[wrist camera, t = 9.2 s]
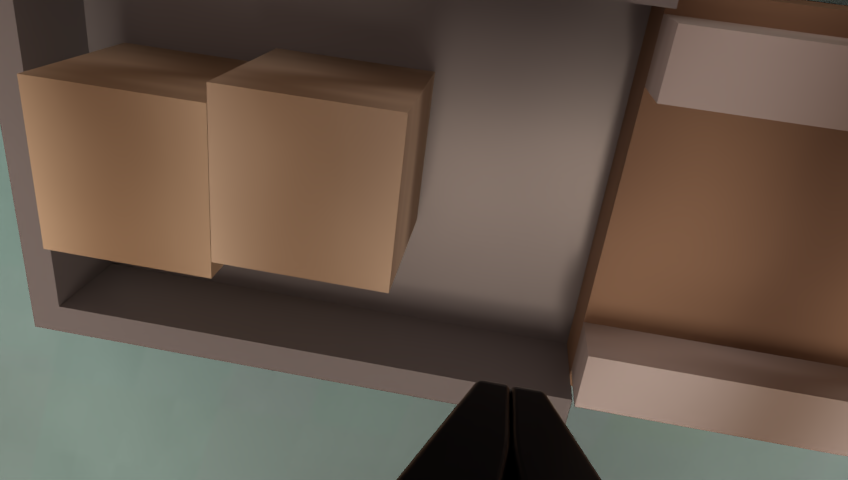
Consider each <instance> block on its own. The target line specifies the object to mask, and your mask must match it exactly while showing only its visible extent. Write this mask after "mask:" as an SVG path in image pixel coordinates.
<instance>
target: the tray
mask: <svg viewBox="0 0 848 480" xmlns="http://www.w3.org/2000/svg"><path fill="white" fill-rule="evenodd" d="M678 1H679V0H0V124H1V130H2V136H3V142H4V148H5V153H6V159H7V165H8V171H9V177H10V182H11V188H12V194H13V200H14V206H15V212H16V217H17V223H18V229H19V235H20V241H21V246H22V252H23V258H24V264H25V270H26V276H27V281H28V287H29V293H30V299H31V305H32V310H33V316H34V322H35V326H36V327H42V328H47V329H52V330H58V331H63V332H69V333H74V334H79V335H85V336H90V337H96V338H101V339H106V340H112V341H117V342H123V343H128V344H133V345H139V346H144V347H150V348H155V349H160V350H166V351H171V352H177V353H182V354H187V355H193V356H198V357H204V358H209V359H214V360H220V361H225V362H231V363H236V364H241V365H247V366H252V367H258V368H263V369H268V370H274V371H279V372H285V373H290V374H295V375H301V376H306V377H312V378H317V379H322V380H328V381H333V382H339V383H344V384H349V385H355V386H360V387H366V388H371V389H376V390H382V391H387V392H393V393H398V394H403V395H409V396H414V397H420V398H425V399H430V400H436V401H441V402H447V403H452V404H457V405H458V404H459V402H460V401H461V400H462V399H463V397H464V396H465V395H466V394H467V392H468V391H469V390H470V389H471V388H472V386H473V385H474V384H475V383H476V382H477V381H479V380H486V381H491V382H497V383H502V384H506V385H507V386H509V388H510V390H511V388H512V387H514V386H519V387H524V388H530V389H535V390H540V391H542V392H544V393H545V394H546V395H547V397H548V399H549V400H550V402H551V403H552V405H553V406H554V408H555V409H556V411H557V412H558V414H559V415H560V417H561V419H562V420H563V422H564V423H565V424H566V420H567V417H568V413H569V409H570V405H571V402H572V395H571V384H570V374H569V362H568V351H567V341H568V337H569V333H570V329H571V325H572V321H573V318H574V314H575V310H576V306H577V302H578V298H579V294H580V290H581V286H582V282H583V278H584V274H585V270H586V266H587V262H588V258H589V254H590V250H591V246H592V242H593V238H594V234H595V230H596V226H597V222H598V218H599V214H600V210H601V206H602V202H603V198H604V194H605V190H606V186H607V182H608V178H609V174H610V170H611V166H612V162H613V158H614V154H615V150H616V146H617V142H618V138H619V134H620V130H621V126H622V122H623V118H624V114H625V110H626V106H627V102H628V98H629V94H630V90H631V86H632V82H633V78H634V74H635V70H636V66H637V62H638V58H639V54H640V50H641V46H642V42H643V38H644V34H645V30H646V26H647V23H648V19H649V15H650V11H651V7H652V6H658V7H665V8H673V9H676V8H677V4H678ZM122 43H131V44H137V45H144V46H151V47H157V48H164V49H171V50H177V51H184V52H191V53H197V54H204V55H210V56H217V57H224V58H230V59H237V60H244V61H251V60H253V59H255V58H257V57H259V56H261V55H263V54H266V53H268V52H270V51H272V50H274V49H276V48H278V49H285V50H292V51H299V52H305V53H312V54H319V55H325V56H332V57H339V58H346V59H352V60H359V61H366V62H373V63H379V64H386V65H393V66H400V67H406V68H413V69H420V70H426V71H433V72H435V76H434V84H433V92H432V100H431V108H430V116H429V125H428V133H427V141H426V149H425V157H424V165H423V174H422V182H421V190H420V198H419V206H418V214H417V221H416V224H415V226H414V229H413V231H412V234H411V237H410V239H409V242H408V244H407V247H406V249H405V252H404V255H403V257H402V260H401V262H400V265H399V268H398V270H397V273H396V275H395V278H394V281H393V283H392V286H391V288H390V291H389V293H384V292H378V291H373V290H367V289H361V288H356V287H350V286H344V285H338V284H333V283H327V282H321V281H316V280H310V279H304V278H299V277H293V276H287V275H282V274H276V273H270V272H265V271H259V270H253V269H248V268H242V267H236V266H230V265H225V264H224V265H223V266H222V267H221V269H220V270H219V271H218V272H217V273H216V274H215V275H214V276H213V277H212V279H210V278H205V277H199V276H194V275H188V274H182V273H177V272H171V271H165V270H160V269H154V268H149V267H143V266H137V265H132V264H126V263H121V262H115V261H109V260H104V259H98V258H92V257H87V256H81V255H76V254H70V253H64V252H59V251H53V250H47V249H44V248H43V241H42V235H41V228H40V222H39V215H38V209H37V202H36V196H35V189H34V182H33V176H32V169H31V163H30V156H29V150H28V143H27V136H26V130H25V123H24V117H23V110H22V104H21V97H20V91H19V84H18V77H17V73H21V72H24V71H28V70H31V69H35V68H38V67H42V66H45V65H49V64H52V63H55V62H59V61H62V60H66V59H69V58H73V57H76V56H80V55H83V54H87V53H90V52H94V51H97V50H101V49H104V48H108V47H111V46H115V45H118V44H122Z"/></svg>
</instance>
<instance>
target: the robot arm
mask: <svg viewBox="0 0 848 480" xmlns="http://www.w3.org/2000/svg"><path fill="white" fill-rule="evenodd" d="M397 480H601V479H600V477H599V475H598V474H597V472H596V471H595V469H594V468H593V466H592V465H591V463H590V462H589V460H588V459H587V457H586V455H585V454H584V452H583V451H582V449H581V448H580V446H579V445H578V443H577V442H576V440H575V439H574V437H573V435H572V434H571V432H570V431H569V429H568V428H567V426H566V425H565V423H564V422H563V420H562V419H561V417H560V415H559V414H558V412H557V411H556V409H555V408H554V406H553V405H552V403H551V402H550V400H549V399H548V397H547V395H546V394H545V393H544V392H542V391H540V390H535V389H530V388H524V387H519V386H514V387H512V388H511V390H510V388H509V386H507V385H506V384H502V383H497V382H491V381H486V380H479V381H477V382H476V383H475V384H474V385H473V386H472V388H471V389H470V390H469V391H468V392H467V394H466V395H465V396H464V397H463V399H462V400H461V401H460V402H459V404H458V405H457V406H456V407H455V408H454V410H453V411H452V412H451V413H450V415H449V416H448V417H447V418H446V419H445V421H444V422H443V423H442V424H441V426H440V427H439V428H438V429H437V431H436V432H435V433H434V434H433V435H432V437H431V438H430V439H429V440H428V442H427V443H426V444H425V445H424V446H423V448H422V449H421V450H420V451H419V453H418V454H417V455H416V456H415V458H414V459H413V460H412V461H411V462H410V464H409V465H408V466H407V467H406V469H405V470H404V471H403V472H402V473H401V475H400V476H399V477H398V478H397Z"/></svg>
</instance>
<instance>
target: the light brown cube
mask: <svg viewBox="0 0 848 480" xmlns="http://www.w3.org/2000/svg"><path fill="white" fill-rule="evenodd" d="M247 62H249V61H244V60H237V59H230V58H224V57H217V56H210V55H204V54H197V53H191V52H184V51H177V50H171V49H164V48H157V47H151V46H144V45H137V44H131V43H122V44H118V45H115V46H111V47H108V48H104V49H101V50H97V51H94V52H90V53H87V54H83V55H80V56H76V57H73V58H69V59H66V60H62V61H59V62H55V63H52V64H49V65H45V66H42V67H38V68H35V69H31V70H28V71H24V72H21V73H17V77H18V84H19V91H20V97H21V104H22V110H23V117H24V123H25V130H26V136H27V143H28V150H29V156H30V163H31V169H32V176H33V182H34V189H35V196H36V202H37V209H38V215H39V222H40V228H41V235H42V241H43V248H44V249H47V250H53V251H59V252H64V253H70V254H76V255H81V256H87V257H92V258H98V259H104V260H109V261H115V262H121V263H126V264H132V265H137V266H143V267H149V268H154V269H160V270H165V271H171V272H177V273H182V274H188V275H194V276H199V277H205V278H210V279H212V277H213V276H214V275H215V274H216V273H217V272H218V271H219V270H220V269H221V267H222V266H223V265H224V264H219V263H213V262H211V229H210V193H209V158H208V122H207V86H206V82H207V81H209V80H211V79H214V78H216V77H218V76H220V75H222V74H224V73H226V72H228V71H230V70H232V69H234V68H236V67H238V66H241V65H243V64H245V63H247Z"/></svg>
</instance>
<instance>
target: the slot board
mask: <svg viewBox="0 0 848 480" xmlns="http://www.w3.org/2000/svg"><path fill="white" fill-rule="evenodd" d="M567 351H568V362H569V374H570V384H571V386H573V393H574V404H575V407H580V408H586V409H591V410H597V411H602V412H608V413H613V414H619V415H624V416H629V417H635V418H640V419H646V420H651V421H657V422H662V423H668V424H673V425H679V426H684V427H690V428H695V429H701V430H706V431H712V432H717V433H722V434H728V435H733V436H739V437H744V438H750V439H755V440H761V441H766V442H772V443H777V444H783V445H788V446H794V447H799V448H805V449H810V450H815V451H821V452H826V453H832V454H837V455H843V456H848V6H846V5H838V4H831V3H823V2H815V1H808V0H679V1H678V4H677V8H676V9H673V8H665V7H658V6H652V7H651V11H650V15H649V19H648V23H647V26H646V30H645V34H644V38H643V42H642V46H641V50H640V54H639V58H638V62H637V66H636V70H635V74H634V78H633V82H632V86H631V90H630V94H629V98H628V102H627V106H626V110H625V114H624V118H623V122H622V126H621V130H620V134H619V138H618V142H617V146H616V150H615V154H614V158H613V162H612V166H611V170H610V174H609V178H608V182H607V186H606V190H605V194H604V198H603V202H602V206H601V210H600V214H599V218H598V222H597V226H596V230H595V234H594V238H593V242H592V246H591V250H590V254H589V258H588V262H587V266H586V270H585V274H584V278H583V282H582V286H581V290H580V294H579V298H578V302H577V306H576V310H575V314H574V318H573V321H572V325H571V329H570V333H569V337H568V341H567Z"/></svg>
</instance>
